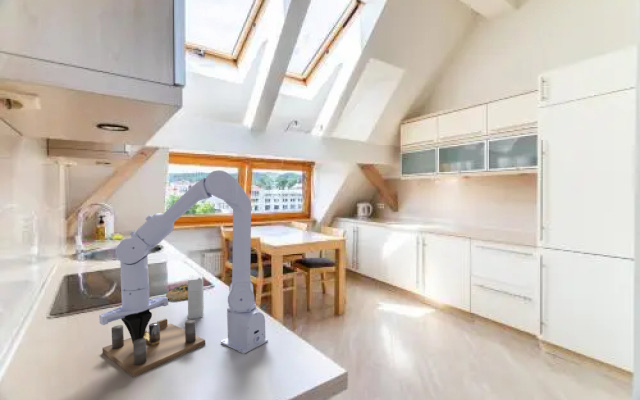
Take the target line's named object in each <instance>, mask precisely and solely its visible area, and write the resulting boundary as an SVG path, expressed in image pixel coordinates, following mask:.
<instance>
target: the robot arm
mask: <svg viewBox="0 0 640 400" xmlns="http://www.w3.org/2000/svg"><path fill="white" fill-rule="evenodd" d="M212 196H214V197H216V198H218V199H220V200H222V201H223V202H225V204H226V205H227V206H229V207H230V208H231V209H232V271H231V272H232V273H231V274H232V275H231V283H230V285H229V287H228V291H229V292H228V296H227V304H228V305H227V306H226V317H227V322H226V323H227V337H226V338H224V339H222V340H220V344H223V345H224V346H226V347H229V348H231V349H233V350H235V351H237V352H239V353H242V354H246V353H249V352H250V351H252V350H254V349H256V348H258V347H259V346H261V345H263V344H265V343H267V342H268V341H269V339H268V338H266V318H265V315H264V314H263V313H262V312H261V311H259V309H258V307H257V303H256V301H255V294H254V284H253V282H252V279H251V250H252V249H251V248H252V247H251V246H252V245H251V244H252V200H251V199H250V197H249V195H247V192H245V190H244V188H243V187H242V186H241V184H240V183H239V182H238V180H237V179H236V178H235V177H234V176H232V175H231V174H230V173H228V172H226V171H224V170H222V169H216V170H213V171H211V172H209V174H208V175H207V176H206V177H203V178H201V179H200V180H199V181H197V182H195V184H194V185H192V186H191V187H190V188H189V189H188V190H186V192H185V193H184V194H182V196H181V197H179V198H178V200H176V201H175V202H174V203H172V205H171V206H170V207H169V208H168V209H167V210H166V211H165V212H164V213H163V212H161V213H159V212H157V213H154V214H153V215H152V214H149V215H148V216H147V217H145V220H146V221H145V222H144V223H143V224H142V225H140V227H138V228H137V229H136V230H132V231H131V232H129V235H131V236H130V237H127V238H125V239H121V241H120V242H119V243H118V244H117V247H115V248H116V249H115V256H116V257H117V260H118V261H119V263H120V265H119V266H120V271H119V273H120V290H121V291H120V294H121V306H119V307H117V308H114V309H112V310H110V311H106V312H104V313H99V319H98V320H99V324H100V325H102V326H105V325H108V324H109V323H112V322H114V321H115V322H116V321H118V320H121V321H122V323H124V325H125V327H126V329H127V330H128V333H129V335H130V338H131V339H132V343H133V342H134V341H135V340H137V339H141V338H143V337H144V333H145V330H147V328H148V326H149V324H150V321H151V319H152V315H153V314H152V313H153V312H151V311H150V310H153V309H154V310H155V309H156V308H157V309H158V308H160V307H166V306H169V300H168V298H167V297H166V296H160V297H156V298H151V299H150V282H149V281H150V280H149V279H150V278H149V275H150V274H149V263H148V261H149V259H148V255H149V254H150V253H151V251H152V249H155V247H156V246H158V245H159V244H160V243H161V242H162V241H163V240H165V238H166V237H168V236H169V235H171V233H173V231H174V230H175V222H176V221H177V220H179V218H181V217H182V216H183V215H184V214H185V213H187V212H188V211H189V210H190V209H192V208H193V207H194V206H195V205H196V204H198V202H200V201H202V200H206V199H209V198H212Z"/></svg>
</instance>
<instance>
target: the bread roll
mask: <svg viewBox="0 0 640 400" xmlns="http://www.w3.org/2000/svg"><path fill="white" fill-rule="evenodd" d="M165 297H167V298H168V299H169V300H168V301H184V299H185V300H188V283H187V284H186V283H185V284H181V285H180V286H176V287H174V288H173V289H170V290H169V291H168V292H167V293H166V294H165Z"/></svg>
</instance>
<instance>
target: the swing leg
mask: <svg viewBox="0 0 640 400" xmlns="http://www.w3.org/2000/svg"><path fill="white" fill-rule="evenodd" d="M148 331H149V333H145V334H144V337H143V338H144V339H146V342H147V343H149V344H150V345H155V344H157V343H160V341H159V340H160V323H158V322H157V321H156V322H152V323H149V324H148Z"/></svg>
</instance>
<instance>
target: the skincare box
mask: <svg viewBox="0 0 640 400" xmlns="http://www.w3.org/2000/svg"><path fill="white" fill-rule="evenodd" d="M187 280H188V281H187V285H188V299H187V319H188V320H189V319H191V320H192V319H198V318H202V317H203V314H204V308H205V305H204V304H205V303H204V302H205V301H204V299H205V298H204V274H203V273H198V274H191V275H189V277H188V279H187Z"/></svg>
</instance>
